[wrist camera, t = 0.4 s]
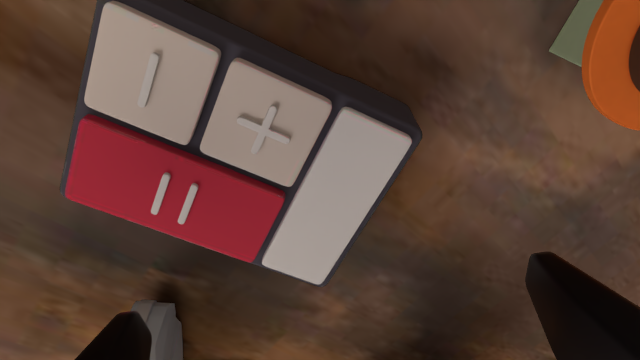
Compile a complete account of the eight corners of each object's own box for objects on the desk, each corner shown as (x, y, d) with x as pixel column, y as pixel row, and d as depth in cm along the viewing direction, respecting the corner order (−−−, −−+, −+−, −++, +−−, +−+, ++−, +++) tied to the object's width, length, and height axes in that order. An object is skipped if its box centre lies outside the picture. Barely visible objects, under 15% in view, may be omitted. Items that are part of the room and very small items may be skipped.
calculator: (90, -20, 16) (431, 139, 19) (134, -28, 19) (412, 106, 23) (48, 204, 20) (324, 300, 24) (90, 163, 24) (323, 251, 27)
